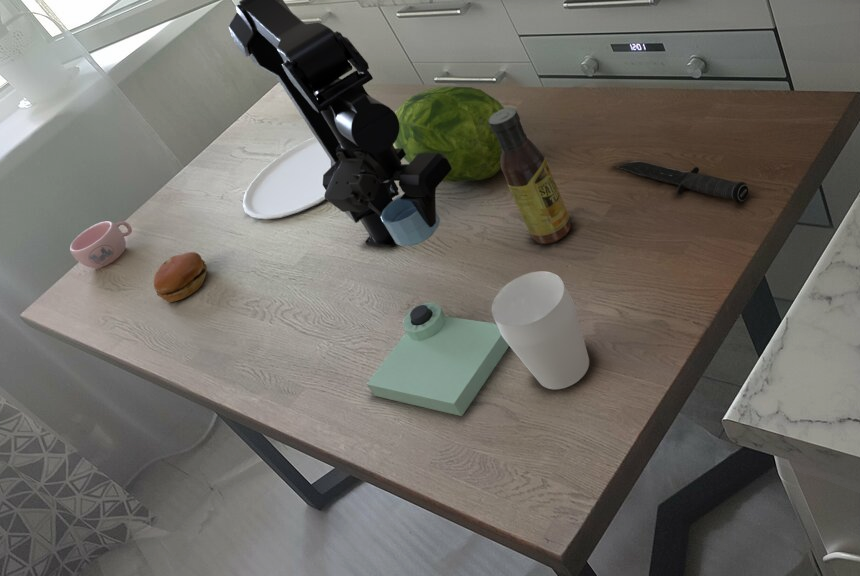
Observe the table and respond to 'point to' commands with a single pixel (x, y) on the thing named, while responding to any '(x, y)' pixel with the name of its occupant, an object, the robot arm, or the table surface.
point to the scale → (440, 362)
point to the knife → (690, 180)
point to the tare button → (420, 315)
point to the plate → (289, 182)
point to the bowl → (406, 223)
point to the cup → (542, 328)
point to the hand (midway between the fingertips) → (413, 224)
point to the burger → (180, 276)
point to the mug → (100, 244)
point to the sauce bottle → (530, 179)
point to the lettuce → (452, 130)
